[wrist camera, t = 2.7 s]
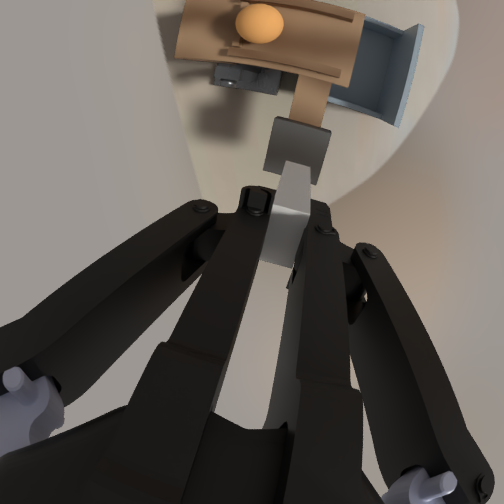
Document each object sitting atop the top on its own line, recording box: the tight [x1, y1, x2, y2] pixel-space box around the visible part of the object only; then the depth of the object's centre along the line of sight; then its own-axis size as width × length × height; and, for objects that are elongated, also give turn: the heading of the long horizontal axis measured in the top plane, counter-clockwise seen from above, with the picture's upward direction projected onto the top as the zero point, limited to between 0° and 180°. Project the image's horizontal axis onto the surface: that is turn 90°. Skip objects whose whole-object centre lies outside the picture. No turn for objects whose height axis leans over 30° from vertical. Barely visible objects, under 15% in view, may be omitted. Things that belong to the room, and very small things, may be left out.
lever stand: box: [214, 63, 282, 95], centre depth 22 cm, size 14×8×10 cm, turn 169°
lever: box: [174, 0, 365, 185], centre depth 23 cm, size 18×17×7 cm
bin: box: [327, 16, 424, 128], centre depth 22 cm, size 12×10×9 cm
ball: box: [235, 4, 284, 44], centre depth 17 cm, size 4×4×4 cm
